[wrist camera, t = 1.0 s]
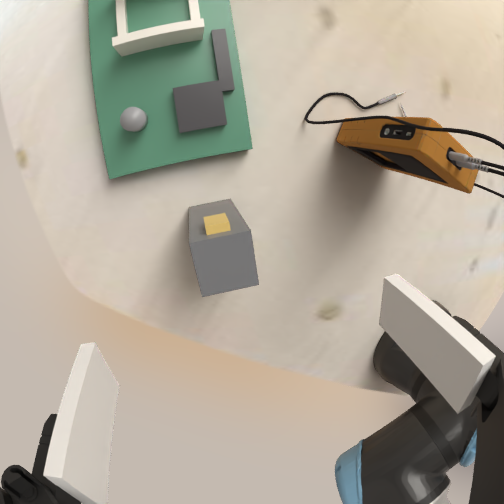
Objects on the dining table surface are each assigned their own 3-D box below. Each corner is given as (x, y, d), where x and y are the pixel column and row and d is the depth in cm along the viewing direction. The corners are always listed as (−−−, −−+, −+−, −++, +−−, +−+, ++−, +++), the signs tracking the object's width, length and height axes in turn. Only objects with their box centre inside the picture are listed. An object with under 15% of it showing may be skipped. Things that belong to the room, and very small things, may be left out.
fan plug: (236, 237, 30) (259, 284, 21) (197, 246, 29) (202, 297, 20) (229, 192, 28) (249, 221, 19) (187, 201, 27) (187, 234, 18)
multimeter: (429, 111, 29) (572, 129, 10) (405, 182, 31) (549, 239, 13) (333, 44, 24) (489, -14, 6) (300, 125, 27) (469, 129, 9)
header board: (249, 148, 27) (261, 150, 22) (113, 177, 25) (98, 185, 21) (220, -37, 18) (226, -62, 14) (92, -11, 17) (78, -31, 12)
